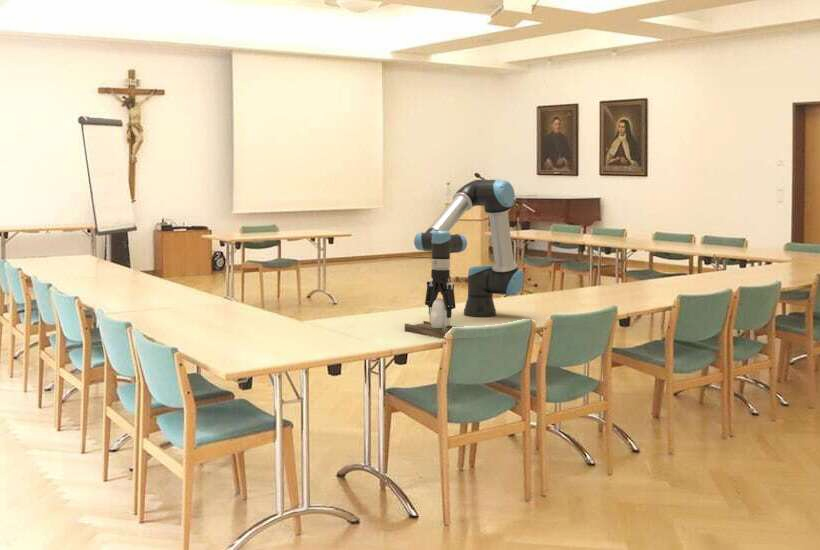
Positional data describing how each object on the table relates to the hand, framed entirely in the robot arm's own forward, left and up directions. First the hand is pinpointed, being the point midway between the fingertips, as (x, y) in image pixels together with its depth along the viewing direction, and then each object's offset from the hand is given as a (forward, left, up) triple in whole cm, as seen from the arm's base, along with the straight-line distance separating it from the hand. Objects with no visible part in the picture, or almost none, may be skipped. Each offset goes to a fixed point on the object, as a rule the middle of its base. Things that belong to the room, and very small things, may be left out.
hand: (439, 324), depth 366 cm
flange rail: (0, -4, -4) cm, 6 cm away
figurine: (0, 0, -1) cm, 1 cm away
